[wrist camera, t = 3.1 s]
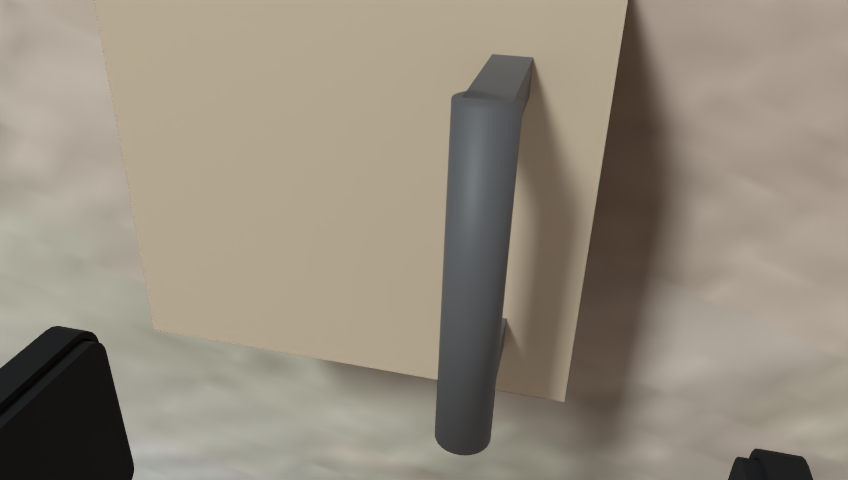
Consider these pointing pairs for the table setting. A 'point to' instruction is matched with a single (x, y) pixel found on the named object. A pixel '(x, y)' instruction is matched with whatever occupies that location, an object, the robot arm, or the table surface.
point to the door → (370, 180)
